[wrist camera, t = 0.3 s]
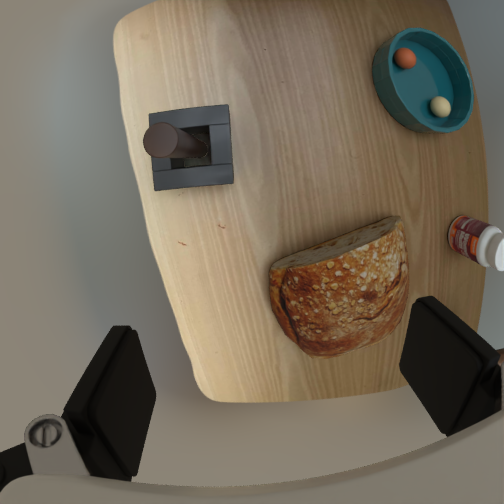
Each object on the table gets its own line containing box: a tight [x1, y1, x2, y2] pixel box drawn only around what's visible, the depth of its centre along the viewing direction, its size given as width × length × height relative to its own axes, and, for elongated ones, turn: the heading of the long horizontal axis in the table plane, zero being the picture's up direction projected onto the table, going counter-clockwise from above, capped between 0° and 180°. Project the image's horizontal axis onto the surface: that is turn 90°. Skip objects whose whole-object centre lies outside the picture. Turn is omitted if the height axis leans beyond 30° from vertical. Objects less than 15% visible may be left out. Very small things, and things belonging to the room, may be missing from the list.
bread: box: [269, 216, 409, 359], centre depth 37 cm, size 20×18×10 cm
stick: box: [143, 122, 208, 158], centre depth 26 cm, size 2×2×20 cm
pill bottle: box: [448, 216, 504, 271], centre depth 35 cm, size 6×6×11 cm
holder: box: [149, 104, 234, 191], centre depth 31 cm, size 8×8×8 cm
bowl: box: [372, 28, 474, 134], centre depth 31 cm, size 15×15×5 cm
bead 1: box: [394, 48, 416, 69], centre depth 30 cm, size 3×3×3 cm
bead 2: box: [430, 96, 451, 118], centre depth 32 cm, size 3×3×3 cm
